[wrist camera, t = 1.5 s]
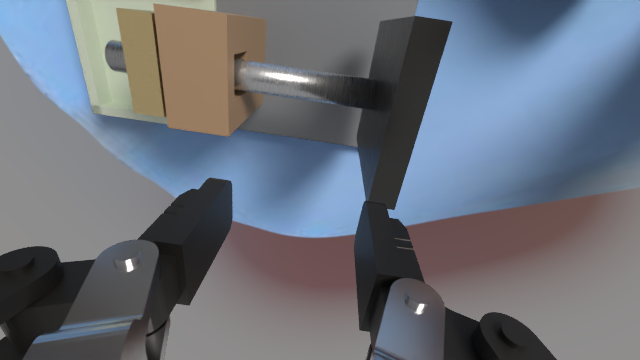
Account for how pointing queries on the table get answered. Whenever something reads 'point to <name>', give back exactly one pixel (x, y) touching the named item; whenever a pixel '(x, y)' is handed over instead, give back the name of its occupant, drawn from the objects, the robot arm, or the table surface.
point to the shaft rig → (242, 43)
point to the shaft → (361, 95)
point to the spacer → (142, 60)
